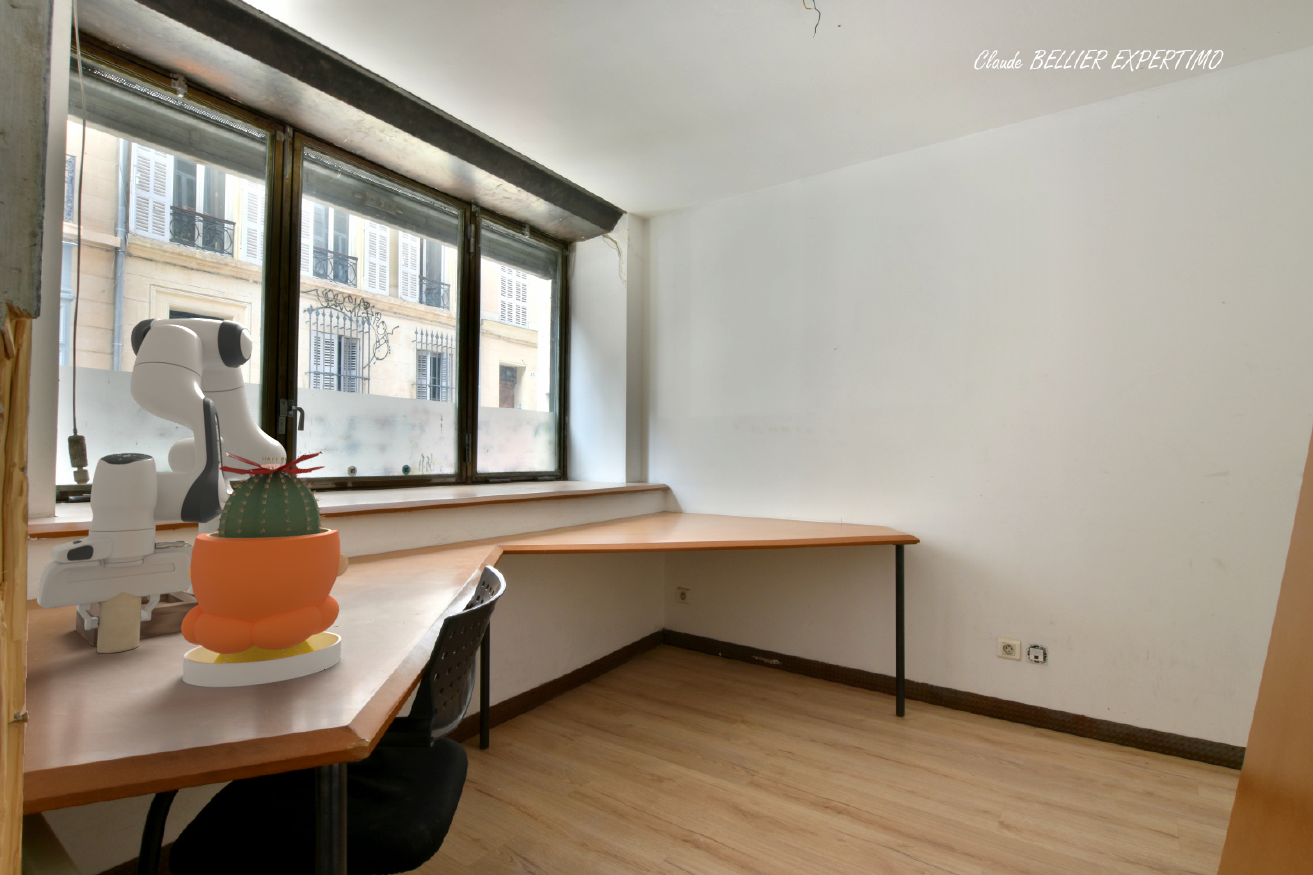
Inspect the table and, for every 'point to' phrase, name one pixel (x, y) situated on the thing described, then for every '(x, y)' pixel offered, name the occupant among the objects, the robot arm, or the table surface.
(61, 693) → the table surface
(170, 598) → the walnut block
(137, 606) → the candle
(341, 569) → the potted cactus
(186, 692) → the table surface
